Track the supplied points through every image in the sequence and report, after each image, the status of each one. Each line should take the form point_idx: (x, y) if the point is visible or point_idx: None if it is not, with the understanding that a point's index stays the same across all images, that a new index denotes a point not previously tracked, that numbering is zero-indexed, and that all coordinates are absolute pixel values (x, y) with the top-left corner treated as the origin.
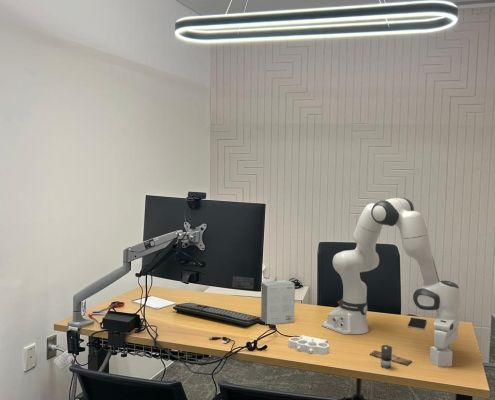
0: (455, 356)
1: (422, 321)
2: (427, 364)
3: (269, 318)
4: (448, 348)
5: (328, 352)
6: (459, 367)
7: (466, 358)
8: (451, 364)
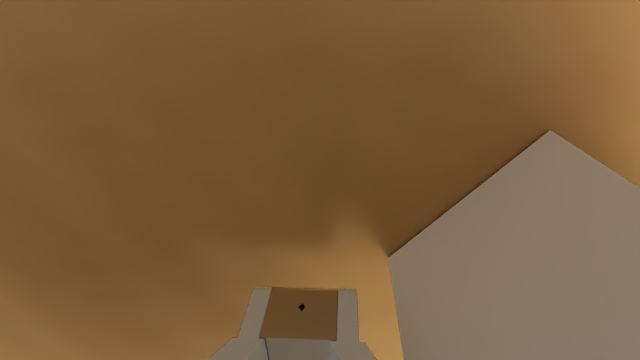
0: (145, 190)
1: None
2: None
3: None
4: (258, 355)
5: None
6: (535, 20)
7: (66, 57)
8: (570, 144)
